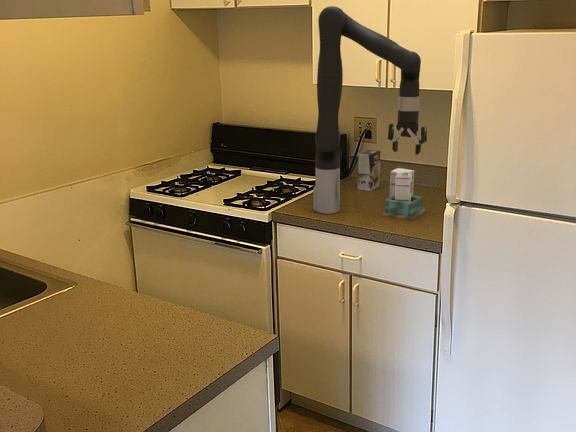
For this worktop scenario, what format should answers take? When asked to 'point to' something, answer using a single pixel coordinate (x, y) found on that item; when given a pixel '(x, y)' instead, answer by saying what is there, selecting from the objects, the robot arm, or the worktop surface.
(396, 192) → the syrup box
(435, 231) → the worktop surface
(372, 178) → the coffee box
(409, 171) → the supplement box
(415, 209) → the socket collar
